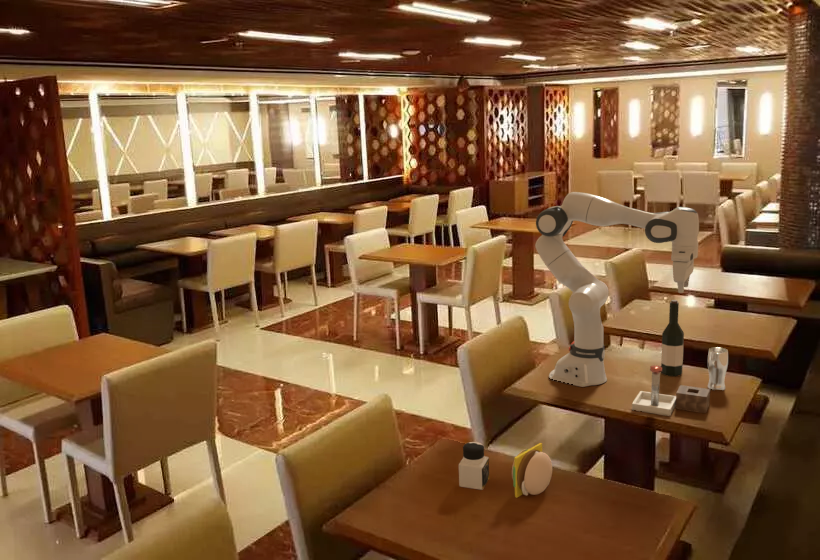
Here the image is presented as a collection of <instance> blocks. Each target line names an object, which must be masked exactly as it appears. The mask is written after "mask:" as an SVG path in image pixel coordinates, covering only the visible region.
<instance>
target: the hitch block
mask: <svg viewBox="0 0 820 560" xmlns="http://www.w3.org/2000/svg"><path fill="white" fill-rule="evenodd" d="M675 394H676V395H675V396H676V406H675V409H677V410H681V411H682V410H683V411H687V412H688V411H689V412H696V413H702V414H706V413H708V409H709V406H710V399H711V398H710V397H711V395H710V394H711V389H709V388H705V387H704V388H703V387H699V386H698V387H696V386H690V385H689V386H688V385H683V384H680V385H679V386H678V389H677V391H676V393H675Z"/></svg>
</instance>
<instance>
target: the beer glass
mask: <svg viewBox="0 0 820 560" xmlns="http://www.w3.org/2000/svg"><path fill="white" fill-rule="evenodd" d="M728 365H729V351H728V349H726V348H723V347H718V346H717V347H711V348H709V349H708V355H707V368H708V379H709V380H708V384H707V389H710V390H711V389H712V391H715V390H722V391H725V390H726V385H725V379H726V378H725V377H726V374H727V370H728Z"/></svg>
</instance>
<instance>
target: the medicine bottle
mask: <svg viewBox="0 0 820 560" xmlns="http://www.w3.org/2000/svg"><path fill="white" fill-rule="evenodd" d="M489 480H490V458H489V456H486V455H485V446H484V444H482V443H481V442H478V441H470V442H466V443H464V444H463V446H462V459H461V460H460V462H459V463H458V483H459V484H458V486H459V487H461V488H467V489H474V490H479V491H482V490H484V488H485V486H486V485H487V483H488V481H489Z"/></svg>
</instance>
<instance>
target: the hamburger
mask: <svg viewBox="0 0 820 560" xmlns="http://www.w3.org/2000/svg"><path fill="white" fill-rule="evenodd" d="M552 475H553V464H552V460H551V457H550V456H549V455H548V454H547V453H545V452H543V443H542V442H539V443H537V444H535V445H534V446H532V447H530V448H525V449H522V450H521V451H519V453H518V454H517V455H516V456H514V461H513V463H512V467H511V479H512V481H513V482H512V484H513V487H514V497H515V498H519V497H521V496H522V495H524V496H527V497H528V495H529V494H530V495H533V496H534V495H535V496H537V495H539V494H541V493H543V492H544V491H545V490H546V489H547V487H548V486H549V485H550V482H551V479H552Z"/></svg>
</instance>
